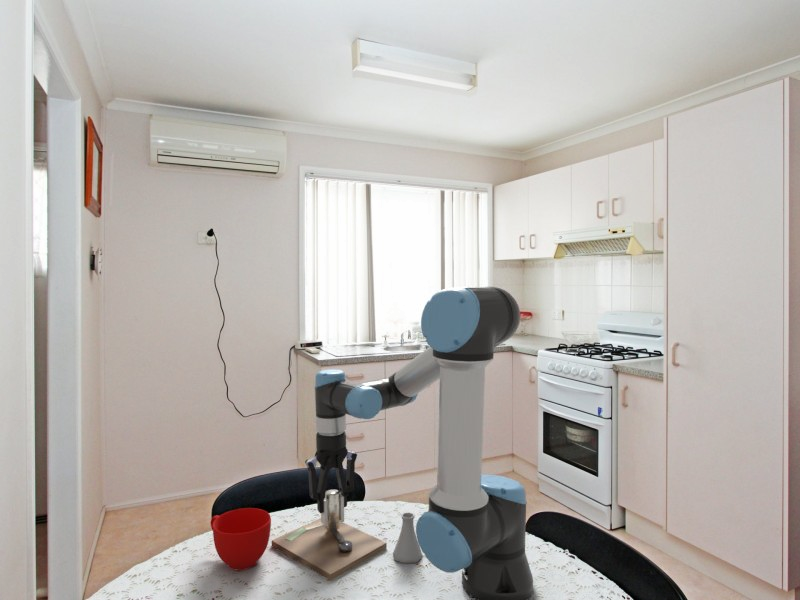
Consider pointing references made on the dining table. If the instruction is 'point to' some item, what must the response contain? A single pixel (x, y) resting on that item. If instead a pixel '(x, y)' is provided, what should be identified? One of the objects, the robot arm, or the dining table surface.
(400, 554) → the flask
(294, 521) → the dining table surface
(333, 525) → the metal crank handle
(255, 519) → the ceramic cup
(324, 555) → the board
